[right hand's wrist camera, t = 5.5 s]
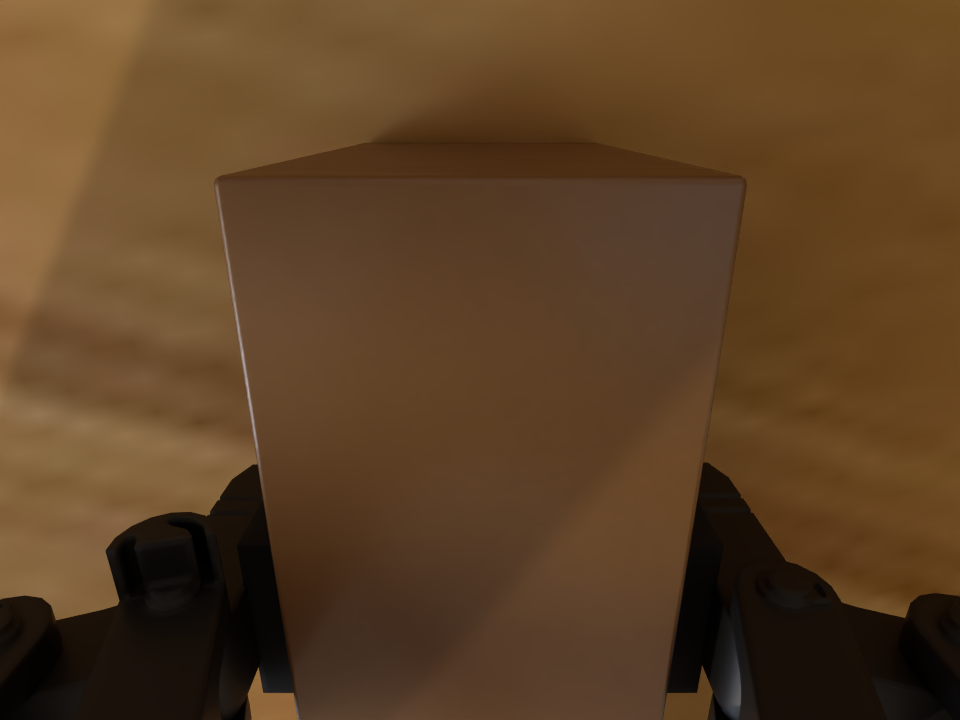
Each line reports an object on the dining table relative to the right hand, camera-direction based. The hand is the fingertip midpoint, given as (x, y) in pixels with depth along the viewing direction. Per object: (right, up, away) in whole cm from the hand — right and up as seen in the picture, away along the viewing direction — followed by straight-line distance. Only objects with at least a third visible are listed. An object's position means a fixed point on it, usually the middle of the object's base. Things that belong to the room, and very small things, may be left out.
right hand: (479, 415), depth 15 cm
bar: (0, -25, +11) cm, 27 cm away
